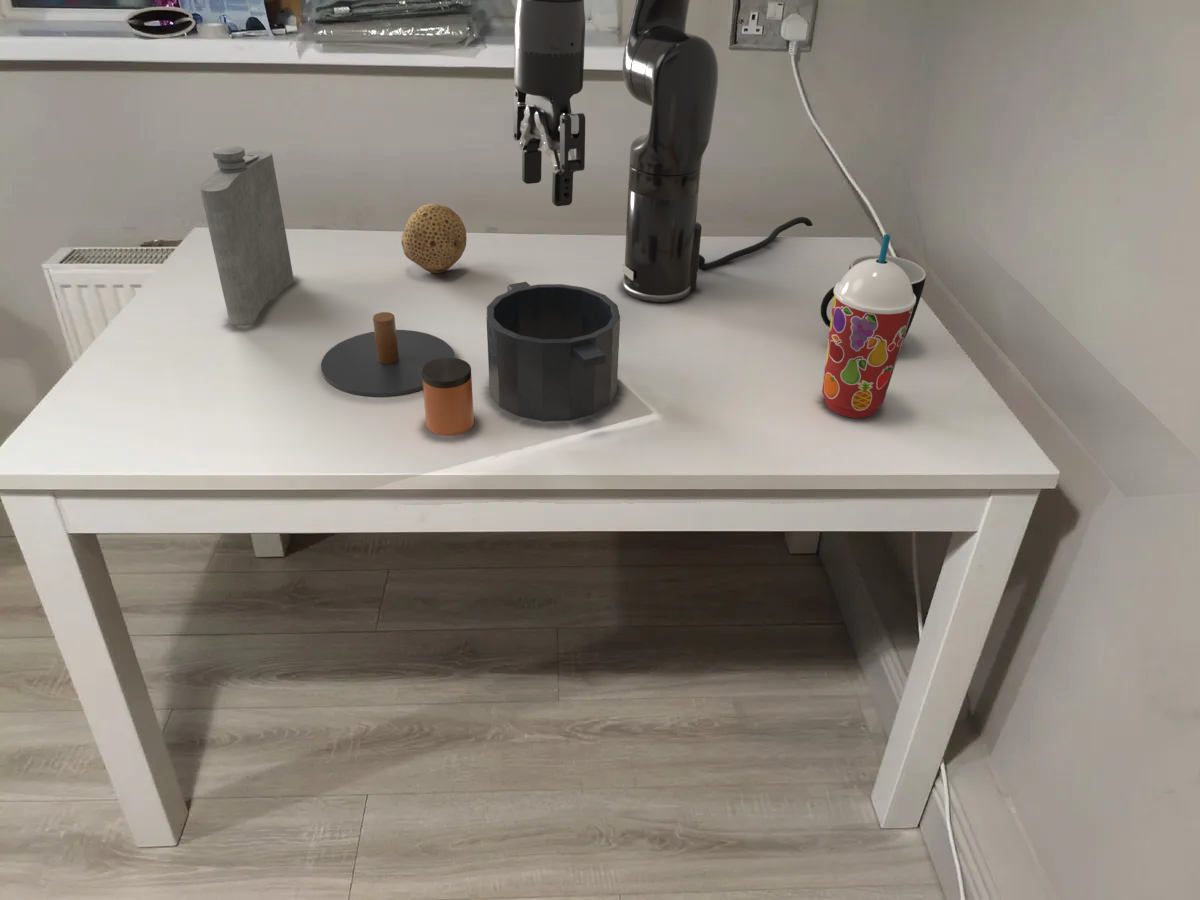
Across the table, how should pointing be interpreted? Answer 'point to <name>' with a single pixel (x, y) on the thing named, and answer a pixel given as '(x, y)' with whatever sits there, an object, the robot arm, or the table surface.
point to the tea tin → (448, 396)
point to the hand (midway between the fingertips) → (546, 193)
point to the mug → (910, 268)
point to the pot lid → (382, 360)
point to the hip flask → (247, 231)
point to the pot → (552, 351)
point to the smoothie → (866, 334)
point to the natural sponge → (434, 238)
